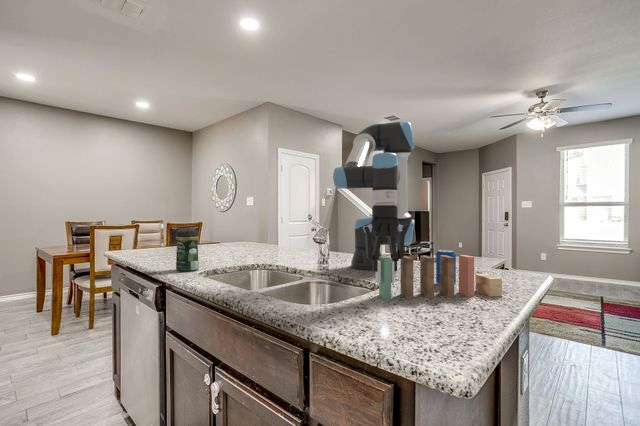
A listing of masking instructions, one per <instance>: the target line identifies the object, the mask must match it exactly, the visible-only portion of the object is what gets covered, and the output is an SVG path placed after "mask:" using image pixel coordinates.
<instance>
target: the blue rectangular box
mask: <svg viewBox="0 0 640 426" xmlns="http://www.w3.org/2000/svg"><path fill="white" fill-rule="evenodd" d="M440 255H447V256H450V257H454V285H456V282H457V281H456V280H457V276H456V275H457V273H456V271H457V268H456V267H457V258H456V257H457V256H456V253H455V250H453V249H452V250H451V249H438V250H437V252H436V253H435V282H436V284H437V285H439V286H440Z"/></svg>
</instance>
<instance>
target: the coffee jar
mask: <svg viewBox="0 0 640 426" xmlns="http://www.w3.org/2000/svg"><path fill="white" fill-rule="evenodd" d="M175 241H176V255H175V257H176V258H175V270H176V271H178V270H179V272H183V271H184V272H185V271H187V272H190V271H192V272H195V271H198V270H199V268H200V266H199V265H200V264H199V245H198V244H199V243H198V242H199V231H198V230H197V229H195V228H189V227H187V228H179V229H177V230H176V234H175ZM184 272H183V273H184ZM185 273H186V272H185Z"/></svg>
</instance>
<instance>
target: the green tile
mask: <svg viewBox="0 0 640 426" xmlns="http://www.w3.org/2000/svg"><path fill="white" fill-rule="evenodd" d="M391 260H392V259H391V257H388V256H385V255H384V256H383V255H382V256H381V257H379V261H380V262H381V283H378V286H379V287H378V296H379V297H380V298H382V299H383V300H384V301H388V300H392V283H391Z"/></svg>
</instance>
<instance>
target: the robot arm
mask: <svg viewBox="0 0 640 426" xmlns="http://www.w3.org/2000/svg"><path fill="white" fill-rule="evenodd" d="M414 149H415V141H414V134H413V127H412V124H411V122H410V121H395V122H394V121H393V122H386V123H385V122H384V123H375V124H372V125H369V126H366V127H364V128H363V129H362V130H361V131H359V132H357V135H356V136H355V137H354V139H353V141H352V149H351V151H350V154H349V155H348V157H347V160H346V162H345V164H344V166H338V167H335V168H334V170H333V175H332V178H333V184H334V187H335V188H336V189H345V190H348V189H372V194H371V195H372V196H371V200H372V201H371V203H372V204H373V205H372V207H371V213H372V215H371V217H364V218H358V219H356V220H355V223H354V252H353V255H352V258H351V263H350V266H351V268H352V267H353V268H352V269H357V270H366V271H373V272H374V273H375V277H374V281H375V282H376V283H377V284H379V283H381V262H380V261H379V257H381V256H383V255H382V252H381V245H382V246H388V247H389V248H388V249H389V252H390V253H389V254H390V259H391V284H394V283H395V272H397V271H398V261H399V260H401V259H402V258H403V257H404V256H405V255H404V254H405V246H410V245H411V244H412V242H413V238H414V236H413V234H414V229H415V219H412V214H410V213H409V211H408V206H409V203H408V202H409V201H408V200H409V199H408V196H409V195H408V192H409V191H408V188H409V187H408V158H409V156H410V155H411V153H412V150H414ZM382 151H383V152H382ZM373 152H379V153H375V154H374V155H373V156H372V161H371V165H368V161H369V158H370V155H371V154H372V153H373Z"/></svg>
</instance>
